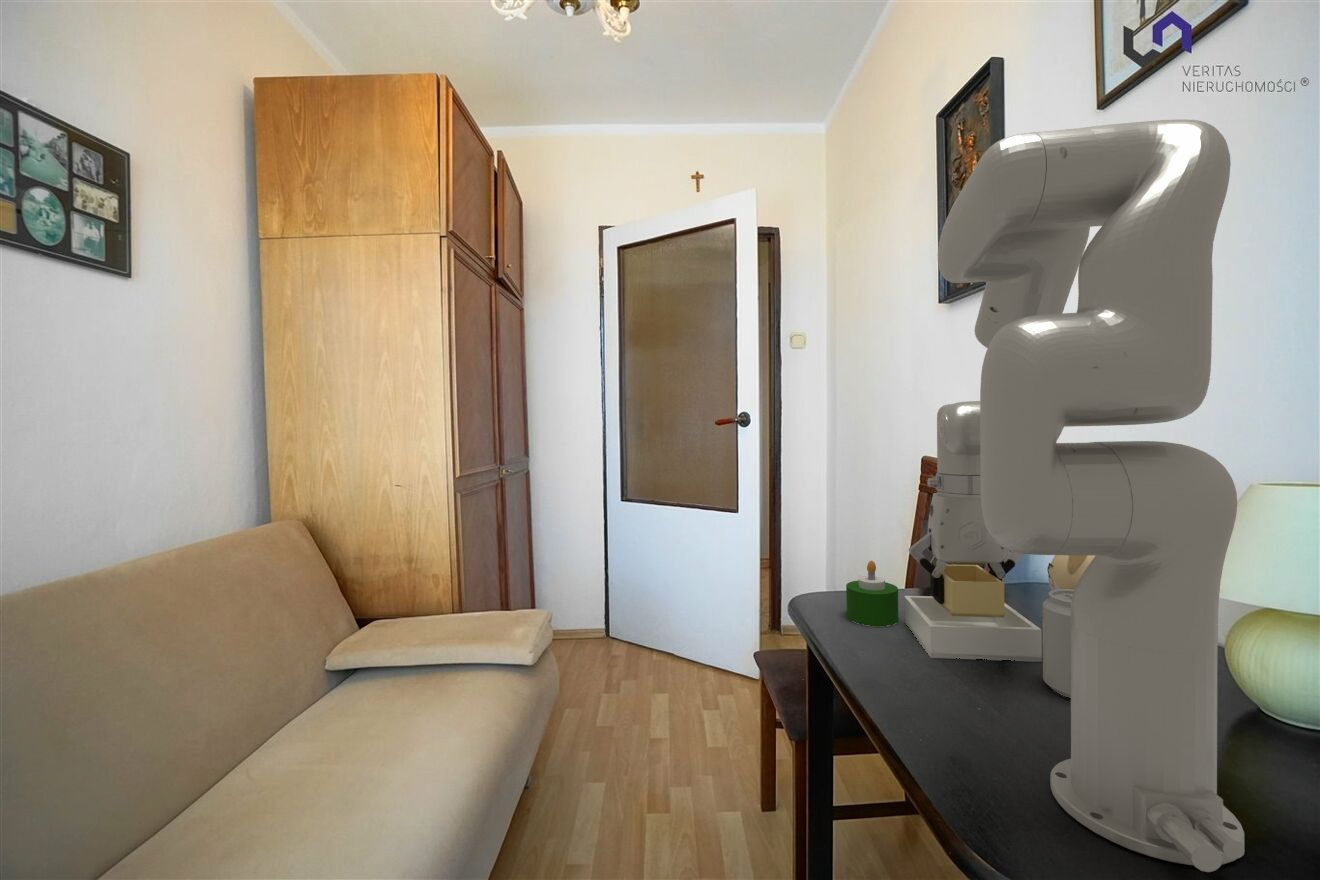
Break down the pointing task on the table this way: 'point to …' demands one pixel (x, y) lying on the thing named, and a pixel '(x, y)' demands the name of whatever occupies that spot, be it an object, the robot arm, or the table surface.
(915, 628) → the large crate
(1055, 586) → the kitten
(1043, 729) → the table surface
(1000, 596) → the small crate
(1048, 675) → the can
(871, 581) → the candle
